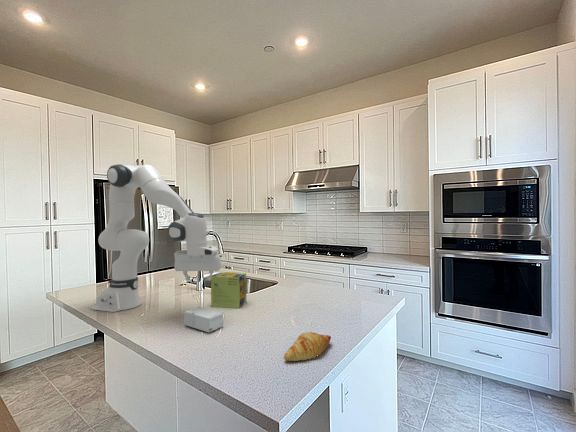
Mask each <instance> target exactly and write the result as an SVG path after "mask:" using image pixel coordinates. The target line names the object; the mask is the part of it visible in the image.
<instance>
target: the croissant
mask: <svg viewBox="0 0 576 432" xmlns="http://www.w3.org/2000/svg"><path fill="white" fill-rule="evenodd" d="M331 339H332V336H331V335H330V334H329V335H328V334H318V333H316V332H311V331H309V332H308V331H307V332H304V333H301V334H300V335H298V337H297V339H296V340H295V341H294V342H293V344H292V346H290V347H289V348H288V349H287V352H285V353H284V355H283V358H284V360H285V361H288V362H300V360H301V361H307V359H309V360H312V359H311V358H314V359H316V356H317V355H319V356H321V355H322V354H323V353H324V351H325V350H326V348H327V347H328V346H329V345H330V344H331ZM322 352H323V353H322ZM321 353H322V354H321ZM317 357H318V356H317Z"/></svg>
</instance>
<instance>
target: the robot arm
mask: <svg viewBox="0 0 576 432" xmlns="http://www.w3.org/2000/svg"><path fill="white" fill-rule="evenodd" d="M106 179H107V181H108V183H109V191H108V205H109V206H108V207H109V208H108V209H109V210H108V211H109V212H108V213H109V215H108V223H107V225H106V227H105V229H104V230H103V231H101V232H100V234H99V236H98V239H97V240H98V241H97V242H98V244H99V246H100V248H102V249H104V250H107V251H113V252H115V251H116V252H119V251H120V255H119V257H118V258H117V259H116V260H114V261H113V262H112V264H111V279H110V280H107V282H106V284H108V287H107V288H105V289H104V290H103V291H102V292H101V293H99V294H98V296H97V298H96V302H95V303H94V304H93V305H91V307H90V310H93V311H94V310H95V311H100V312H111V313H115V312H121V311H125V310H130V309H134V308H137V307H139V306H141V305H142V301H141V299H140V294H139V289H138V288H139V277H138V262H139V261H138V260H139V258H140V256H141V253H142V252H143V251H144V250H145V249H147V248H148V245H149V243H150V237H149V234H148V233H147V231H144V230H140V229H132V228H131V229H129V228H128V225H129V222H130V221H132V220H133V219H135V216H136V215H135V211H136V210H135V195H134V193H135V190H136V189H138V190H141V192H142V193H143V195H144V196H145V198H146V199H147V200H148V201H149V202H150V203H152V204H155V205H159V206H165V207H167V208H170V209H172V210H174V211H175V212H176V213H177V214H178V216H179V217H180V219H177V220H174V221H172V222H171V223H170V224H169V225H168V229H167V235H168V237H169V238H170V240H171V241H173V242H174V243H175V242H176V243H181V242H186V249H178V250H176V251H175V252H174V254H173V255H174V256H173V257H174V270H175V271H176V272H182V275H183V276H184V277H185V281H186V282H188V281H189V282H190V281H191V276H190V275H189V274H188V272H208V274H209V275H207V276H206V281H207V282H208V281H209V282H211V276H213V275H214V272H220V271H219V270H221V268H222V260H221V255H220V254H219V253H218V252H219V248H218V247H216V246H213V245H210V244H208V240H207V233H208V228H207V221H206V217H205V215H203V214H202V213H198V212H194V211H193V209H192V208H191V207H190V206H189V205H188V204H187V202H186V201H185V200H184V199H183V197H181V195H179V194H178V193H177V192H175V191H174V190H173V189H172V188H171V187H170V186H169V184H168V183H167V182H166V181H165V179H164V177H163V176H162V175H161V173H160V172H159V171H158V170H157V169H156V168H155V167H154V165H151V164H146V163H145V164H141V165H137V164H119V163H117V164H113V165H110V166H109V168H108V170H107V172H106Z"/></svg>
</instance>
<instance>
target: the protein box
mask: <svg viewBox="0 0 576 432" xmlns="http://www.w3.org/2000/svg"><path fill="white" fill-rule="evenodd" d="M246 303H247V272H233V271H230V272H227V271H218V272H217V273H215V274H212V276H211V281H210V306H211V307H214V308H215V307H216V308H217V307H218V308H229V309H230V308H231V309H240V308H241V307H243V306H244V305H245V304H246Z"/></svg>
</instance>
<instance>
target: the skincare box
mask: <svg viewBox="0 0 576 432" xmlns="http://www.w3.org/2000/svg"><path fill="white" fill-rule="evenodd" d="M183 316H184V318H183V321H184V322H183V324H184V326H187V327H189V326H190V328H193V329H197V330H200V331H203V332H206V333H211V332H213V331H216V330H218V329H220V328H222V327H224V313H223V312H220V311H216V310H212V309H208V308H204V307H201V306H197V307H195V308H192V309H188V310H186V311H184V313H183Z"/></svg>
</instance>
